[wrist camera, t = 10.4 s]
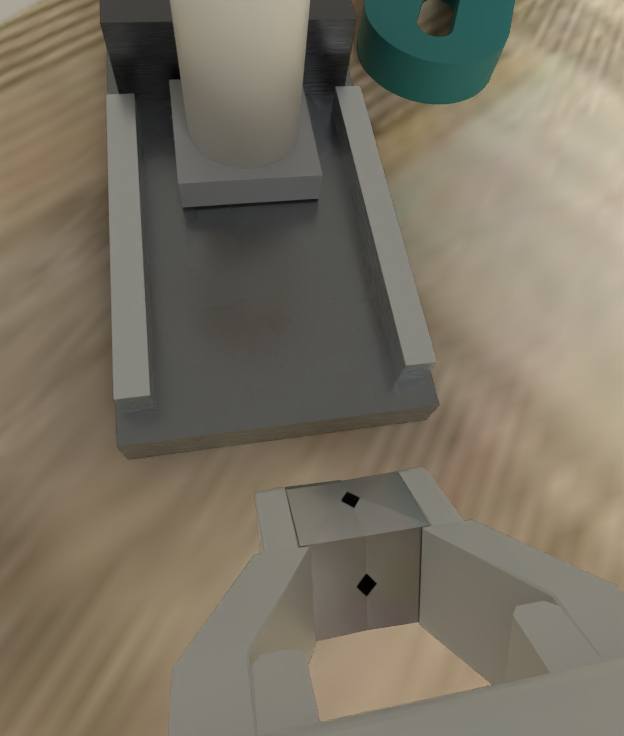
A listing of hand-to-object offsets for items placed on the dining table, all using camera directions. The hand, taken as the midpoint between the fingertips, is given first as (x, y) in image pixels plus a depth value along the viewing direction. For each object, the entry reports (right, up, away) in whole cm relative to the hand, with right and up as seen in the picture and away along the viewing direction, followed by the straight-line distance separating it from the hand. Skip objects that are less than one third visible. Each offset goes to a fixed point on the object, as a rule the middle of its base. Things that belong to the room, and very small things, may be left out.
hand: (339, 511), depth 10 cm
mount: (-3, +9, +12) cm, 15 cm away
